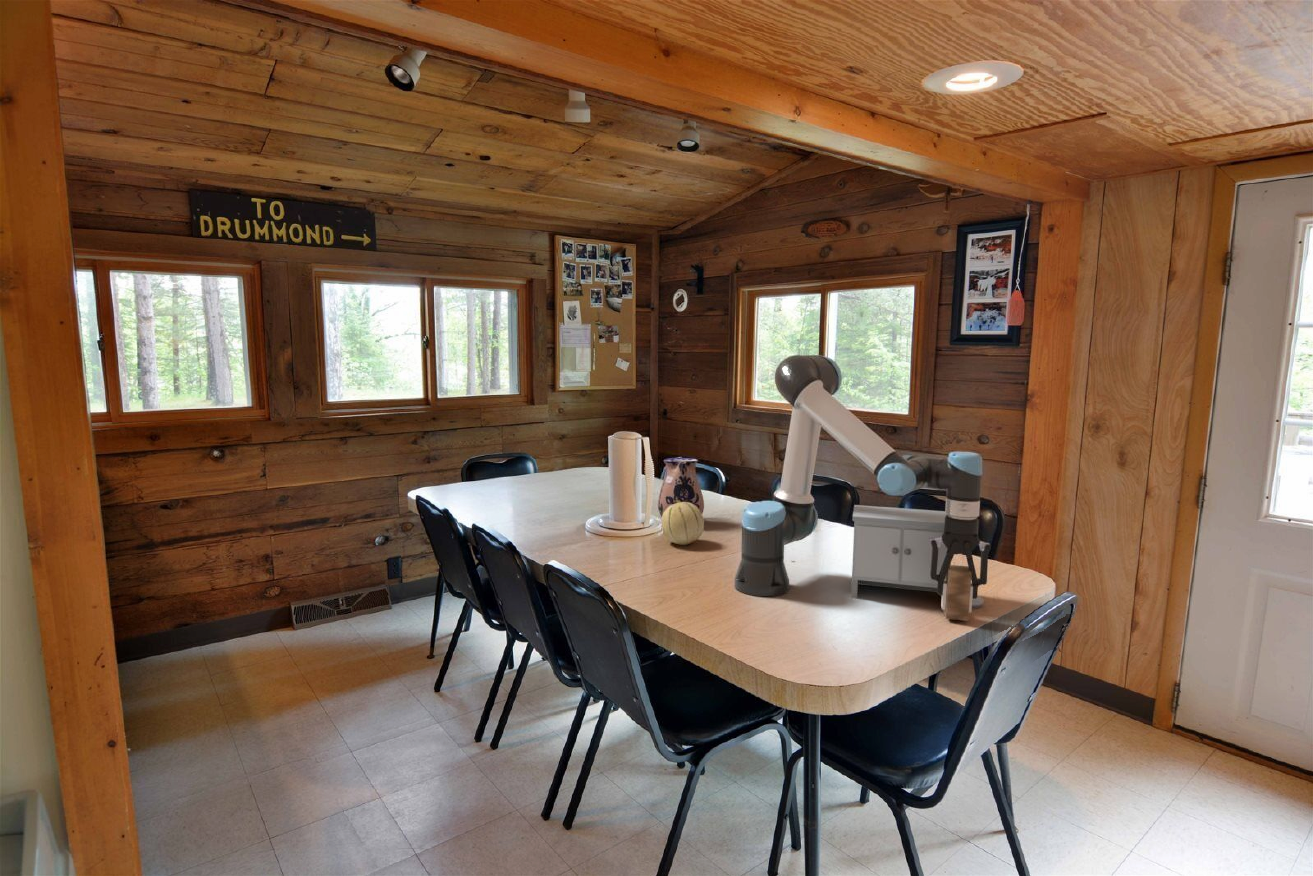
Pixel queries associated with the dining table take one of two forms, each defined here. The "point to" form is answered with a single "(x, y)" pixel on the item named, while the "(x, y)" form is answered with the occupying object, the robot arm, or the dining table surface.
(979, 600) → the steel puck
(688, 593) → the dining table surface
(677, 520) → the cantaloupe
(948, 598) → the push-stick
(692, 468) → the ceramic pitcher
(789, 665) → the dining table surface
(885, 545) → the cabinet
